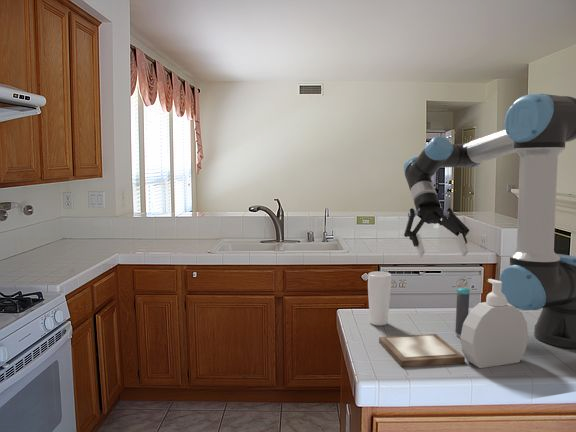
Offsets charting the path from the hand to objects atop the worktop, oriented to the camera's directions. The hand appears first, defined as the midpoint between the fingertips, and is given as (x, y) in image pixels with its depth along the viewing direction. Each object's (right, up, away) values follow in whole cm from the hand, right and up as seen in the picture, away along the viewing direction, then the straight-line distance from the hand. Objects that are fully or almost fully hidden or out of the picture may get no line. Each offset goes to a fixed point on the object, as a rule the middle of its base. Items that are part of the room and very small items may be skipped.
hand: (444, 254), depth 152 cm
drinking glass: (-19, -21, +1) cm, 28 cm away
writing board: (-13, -23, -21) cm, 34 cm away
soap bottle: (+3, -24, -27) cm, 36 cm away
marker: (+2, -22, -10) cm, 24 cm away
